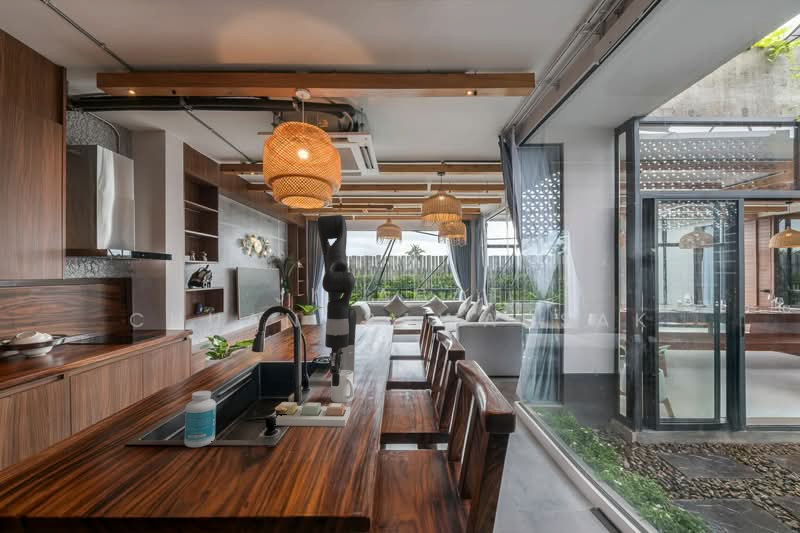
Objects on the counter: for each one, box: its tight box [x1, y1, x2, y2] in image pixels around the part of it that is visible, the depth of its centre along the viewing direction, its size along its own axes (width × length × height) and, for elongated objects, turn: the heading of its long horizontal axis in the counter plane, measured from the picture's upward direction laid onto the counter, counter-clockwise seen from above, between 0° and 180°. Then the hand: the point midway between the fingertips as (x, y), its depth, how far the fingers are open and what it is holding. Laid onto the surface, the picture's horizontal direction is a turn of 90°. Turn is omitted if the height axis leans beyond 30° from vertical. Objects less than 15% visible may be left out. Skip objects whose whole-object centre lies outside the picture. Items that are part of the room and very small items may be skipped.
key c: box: [278, 401, 298, 415], centre depth 120 cm, size 5×5×2 cm
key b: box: [302, 402, 322, 416], centre depth 120 cm, size 5×5×2 cm
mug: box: [330, 370, 355, 404], centre depth 138 cm, size 12×8×10 cm
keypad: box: [271, 405, 351, 427], centre depth 120 cm, size 12×24×2 cm, turn 90°
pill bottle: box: [183, 390, 217, 448], centre depth 101 cm, size 8×7×14 cm
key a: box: [327, 402, 346, 416], centre depth 120 cm, size 5×5×2 cm
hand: (335, 385), depth 120 cm, fingers closed
